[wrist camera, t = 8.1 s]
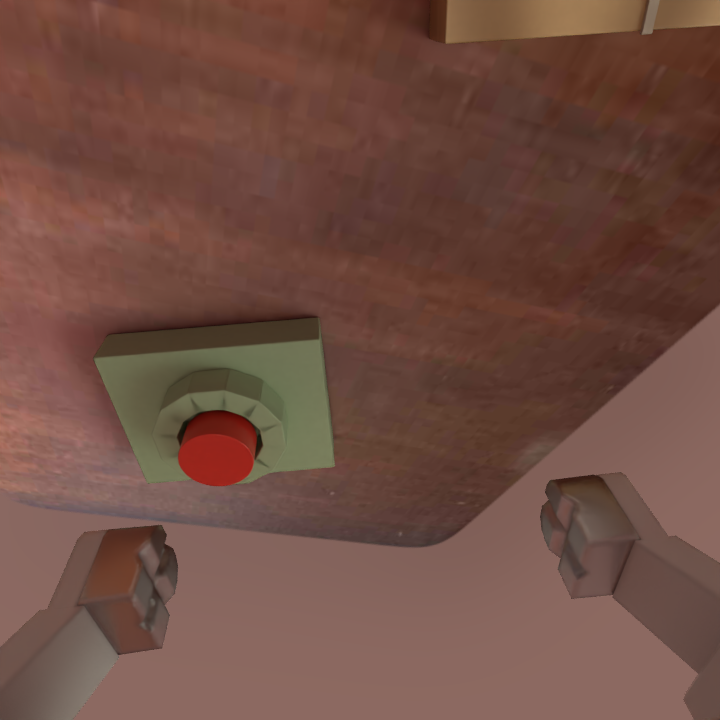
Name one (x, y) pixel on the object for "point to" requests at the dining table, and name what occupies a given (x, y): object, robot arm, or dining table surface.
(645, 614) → the robot arm
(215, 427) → the button
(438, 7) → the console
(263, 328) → the olive flat block
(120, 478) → the dining table surface
